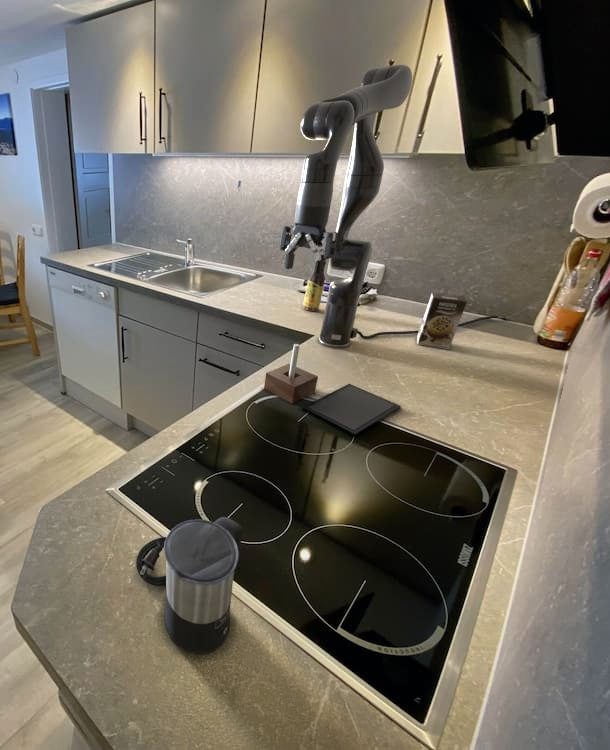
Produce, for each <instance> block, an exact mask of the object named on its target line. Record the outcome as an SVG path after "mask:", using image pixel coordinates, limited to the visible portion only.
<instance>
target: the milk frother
mask: <svg viewBox="0 0 610 750" xmlns="http://www.w3.org/2000/svg"><path fill="white" fill-rule="evenodd" d="M243 533H244V529H243V526H242V525H241V524H239V523H238V522H237V521H234V519H231V518H229V517H226V516H221V517H219V518H217V519H216V520H215V521H210V520H206V519H190V520H185V521H182V522H179V524H177V525H175V526H174V527H173V528H171V530H170V531H169V532H168V534H167V536H161V537H158V538H154V539H152V540H150V541H149V542H146V543H145V544H144V545H143V546H142V547H141V549H140V550H139V551H138V553H137V557H136V559H135V567H136V571H137V573H138V575H139V577H140V578H141V579H142V580H143V581H144V582H146V583H147V584H150V585H152V586H155V587H164V586H165V587H166V593H165V594H166V597H165V598H166V600H165V607H164V611H163V624H164V629H165V631H166V633H167V635H168V637H169V638H170V640H171V641H172V642H173V643H174V644H175V645H176V646H177V647H178V648H180V649H182V650H183V651H185V652H187V653H191V654H196V655H197V654H198V655H203V654H204V655H205V654H209V653H213V652H215V651H216V650H217V649H219V648H220V647H221V646H222V645H223V644H224V643H225V642H226V640H227V639H228V636H229V634H230V631H231V617H230V616H231V614H230V612H231V603H232V594H233V585H234V576H235V572H236V570H237V567H238V563H239V557H240V552H241V551H240V550H241V545H242V544H241V542H242V539H243ZM162 551H163V554H164V558H165V561H166V563H165V564H166V565H165V567H166V573H165V575H162V576H154V575H152V574H149V573H148V569H150V570H151V571H155V565H157V562H158V559H159V558H160V553H161V552H162Z"/></svg>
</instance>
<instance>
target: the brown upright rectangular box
mask: <svg viewBox="0 0 610 750" xmlns="http://www.w3.org/2000/svg"><path fill="white" fill-rule="evenodd" d="M467 302H468V301H467V299H466V297H465V296H464V295H463V296H462V295H453V294H446V293H438V292H431V294H430V297H429V300H428V303H427V306H426V308H425V312H424V315H423V318H422V321H421V324H420V326H419V329H418V330H419V333H417V336H416V344H417V345H419V346H426V347H433V348H439V349H444V350H450V348H451V345H452V342H453V340H454V337H455V335H456V332H457V329H458V328H459V327H458V324H460V322H461V320H462V316H463V314H464V312H465V308H466V306H467Z"/></svg>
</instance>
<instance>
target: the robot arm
mask: <svg viewBox="0 0 610 750" xmlns="http://www.w3.org/2000/svg"><path fill="white" fill-rule="evenodd" d="M412 81H413V72H412V69H411V67H410V66H408V65H406V64H393V65H386V66H385V65H384V66H378V67H371V68H368V69H367V70H365V72H364V74H363V75H362V78H361V80H360V83H359V86H357V87H354V88H352V89H349V90H347V91H345V92H343V93H341V94H340V95H338V96H335V97H331V98H326V99H322V100H318V101H316V102H313V103H312V104H311V105H309V106H308V107H307V108H306V109H305V111H304V112H303V114H302V116H301V119H300V132H301V134H302V135H303V137H304V138H305V139H307V140H309V141H310V140H311V141H326V140H327V142H326V144H325V145H324V147H323V148H322V149H321V150H318V151H314V152H311V153H309V154H307V155H306V156H305V158H304V161H303V167H302V173H301V180H300V181H301V182H300V186H299V188H298V194H297V200H296V208H295V214H294V221H293V222H294V226H293V225H285V226H283V227H282V232H281V237H280V244H279V250H280V251H283V252H284V253H285V256H284V257H285V258H284V268H285V269H286V270H290V269H293V267H294V262H295V255H296V254H295V252H296V251H297V250H298V248H306V249H308V250H309V249H310V250H311V252H312V253H313V254H314V256H315V258H316V259H315V260H316V263H315V262H314V266H315V269H314V268H313V271H314V275H315V276H319V275H321V273H323V271H324V272H325V268H324V266H325V267H326V265H325V261H326V262H327V260H329V266H330V267H329V268H331V269H332V270H335V271H336V270H337V271H341V272H350V273H352V274H351V276H349V277H346V278H341V279H336V280H333V281H331V283H330V284H329V288H328V293H327V298H326V304H325V308H324V313H323V319H322V322H321V323H322V324H321V328H320V333H319V337H318V342H319V343H320V344H322V345H324V346H326V347H330V348H346V347H348V346H349V345H350V342H351V339H354V338H357V335H359V337H360V338H362V339H365V340H366V339H369V340H370V339H373V338H375V337H376V338H377V337H378V336H385V335H414V334H418V333H419V330H420V329H418V330H402V331H401V330H400V331H380V332H376V333H373V334H371V335H364V334H363V333H362V332H361V331H360V330H359V329H358V328H356V327H354V325H355V321H356V314H357V310H358V305H359V300H360V297H361V293H362V289H363V284H364V280H365V276H366V273H367V270H368V266H369V264H370V260H371V256H372V251H373V245H372V243H371V242H370V241H367V240H359V239H349V237H348V236H349V234H350V231H351V228H352V227H353V225H354V224H355V222H356V221H357V219H358V218H359V217H360V216H361V215H362V214H363V213H364V211H365V210H366V209H367V208H368V207H369V206H370V205H371V204H372V202H373V201H374V200H375V199H376V197H377V196H378V195H379V192H380V188H381V186H382V185H381V184H382V180H383V175H384V170H385V163H384V159H383V156H382V153H381V151H380V148H379V146H378V143H377V141H376V139H375V135H374V131H373V116H374V115H375V114H378V113H380V112H382V111H386V110H393V109H396V108H399V107H400V106H401V105H403V104H404V103H405V101H406V100H407V98H408V97H409V94H410V92H411V88H412ZM353 126H354V127H353ZM352 128H353V135H352V136H353V137H352V143H351V150H350V154H349V159H348V164H347V169H346V172H345V173H346V174H345V178H344V185H343V191H342V199H341V205H340V210H339V216H338V221H337V225H336V229H335V231H331V232H328V231H327V230H326V227H327V225H328V222H329V218H330V217H329V215H330V211H331V205H332V199H333V194H334V181H335V177H336V171H337V165H338V162H339V159H340V156H341V154H342V151H343V149H344V145H345V143H346V141H347V139H348V137H349V135H350V132H351V130H352ZM292 237H294V238H293V239H292ZM323 240H324V241H325V244H324V242H323ZM496 315H497V314H495V315H494V314H493V315H489V316H482V317H478V318H476V319H472V320H469V321H464V322H461V323H459V324H458V327H457V328H460V327H464V326H467V325H471V324H474V323H476V322H479V321H485V320H486V321H487V320H491V319H499V318H498V316H496ZM500 319H501V320H502V321H507V318H506V317H505V318H500Z"/></svg>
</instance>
